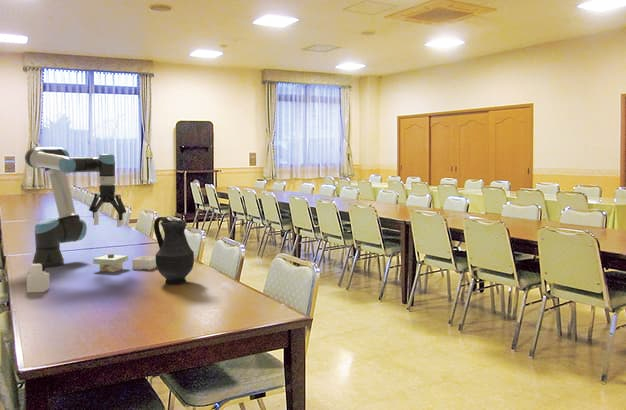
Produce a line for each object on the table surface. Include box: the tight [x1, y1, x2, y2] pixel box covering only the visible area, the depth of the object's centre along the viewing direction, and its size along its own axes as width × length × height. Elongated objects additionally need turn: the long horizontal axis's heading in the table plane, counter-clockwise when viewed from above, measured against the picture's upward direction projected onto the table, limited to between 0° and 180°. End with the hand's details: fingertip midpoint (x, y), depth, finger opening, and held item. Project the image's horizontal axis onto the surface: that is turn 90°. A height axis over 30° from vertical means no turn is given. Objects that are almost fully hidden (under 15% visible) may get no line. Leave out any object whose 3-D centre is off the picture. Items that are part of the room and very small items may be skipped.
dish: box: [131, 255, 157, 271], centre depth 301 cm, size 10×10×5 cm
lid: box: [92, 253, 129, 265], centre depth 295 cm, size 12×12×4 cm
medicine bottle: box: [25, 262, 51, 294], centre depth 250 cm, size 7×7×12 cm
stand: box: [98, 262, 124, 273], centre depth 295 cm, size 8×8×4 cm
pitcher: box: [153, 216, 195, 286], centre depth 267 cm, size 17×21×30 cm
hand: (107, 225), depth 298 cm, fingers open, 13 cm apart
